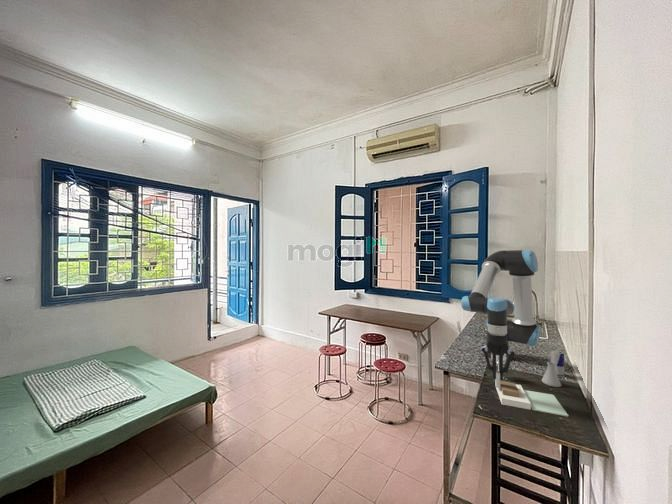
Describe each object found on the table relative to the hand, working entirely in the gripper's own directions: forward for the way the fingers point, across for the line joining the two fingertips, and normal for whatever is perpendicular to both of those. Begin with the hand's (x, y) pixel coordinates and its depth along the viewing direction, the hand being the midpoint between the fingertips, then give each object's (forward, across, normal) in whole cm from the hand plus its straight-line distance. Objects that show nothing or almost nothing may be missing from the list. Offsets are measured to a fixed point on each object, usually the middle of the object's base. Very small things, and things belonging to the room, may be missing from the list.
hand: (497, 386), depth 118 cm
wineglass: (+4, +3, +19) cm, 20 cm away
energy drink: (+4, +31, +33) cm, 46 cm away
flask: (+4, +25, +21) cm, 33 cm away
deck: (+4, +5, 0) cm, 6 cm away
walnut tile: (+1, +4, 0) cm, 4 cm away
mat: (+4, +16, 0) cm, 17 cm away
